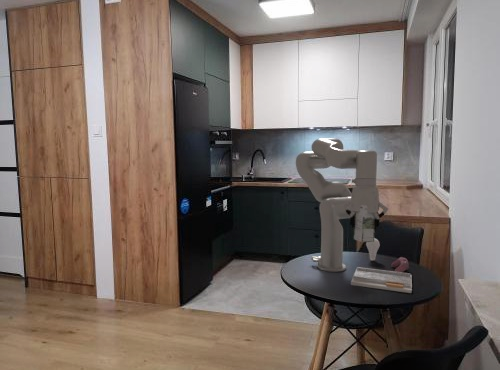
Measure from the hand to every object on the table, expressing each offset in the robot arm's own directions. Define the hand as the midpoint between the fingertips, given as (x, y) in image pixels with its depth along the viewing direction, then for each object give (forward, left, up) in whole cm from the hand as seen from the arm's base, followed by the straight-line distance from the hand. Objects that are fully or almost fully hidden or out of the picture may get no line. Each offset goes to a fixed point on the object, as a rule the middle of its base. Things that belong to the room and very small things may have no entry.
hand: (364, 227), depth 144 cm
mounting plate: (+7, +7, -23) cm, 25 cm away
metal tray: (+7, +7, -22) cm, 24 cm away
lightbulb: (+1, +34, -23) cm, 41 cm away
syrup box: (0, 0, -5) cm, 5 cm away
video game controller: (+13, +24, -23) cm, 36 cm away
